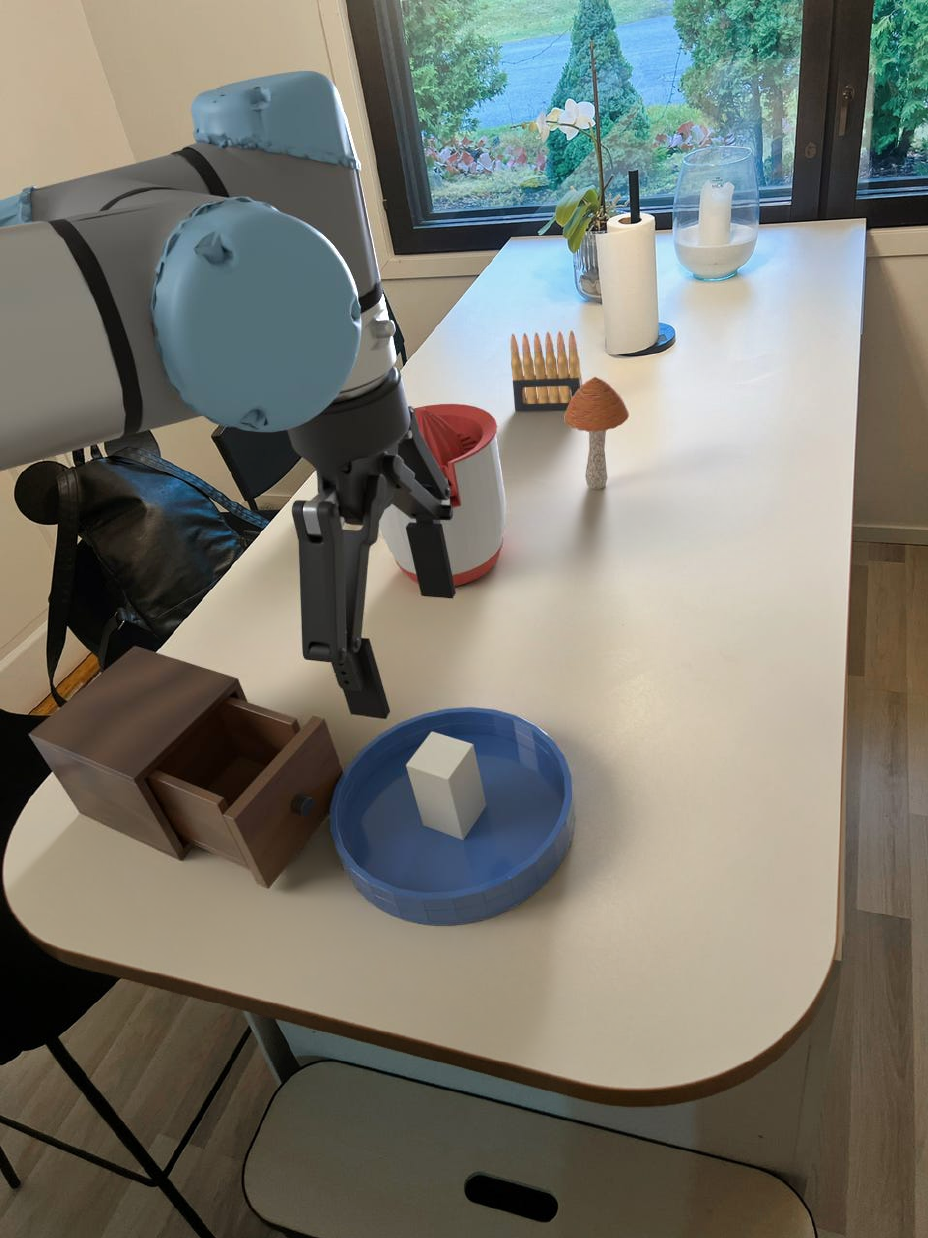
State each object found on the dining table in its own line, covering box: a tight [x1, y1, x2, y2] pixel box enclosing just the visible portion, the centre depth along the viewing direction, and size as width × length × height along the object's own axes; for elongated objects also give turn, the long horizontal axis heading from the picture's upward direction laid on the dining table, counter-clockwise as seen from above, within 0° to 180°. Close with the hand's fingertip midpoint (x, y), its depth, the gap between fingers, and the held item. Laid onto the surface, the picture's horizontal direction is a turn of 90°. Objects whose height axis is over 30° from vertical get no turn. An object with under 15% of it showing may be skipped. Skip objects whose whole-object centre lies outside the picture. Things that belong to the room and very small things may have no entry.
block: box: [406, 732, 486, 840], centre depth 72 cm, size 4×4×8 cm
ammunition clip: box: [510, 330, 583, 413], centre depth 131 cm, size 11×2×12 cm, turn 74°
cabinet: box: [28, 645, 249, 861], centre depth 79 cm, size 14×13×11 cm
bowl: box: [329, 706, 576, 927], centre depth 73 cm, size 20×20×4 cm
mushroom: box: [563, 376, 630, 491], centre depth 110 cm, size 8×8×15 cm
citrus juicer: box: [379, 403, 507, 587], centre depth 99 cm, size 16×17×20 cm
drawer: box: [144, 696, 344, 890], centre depth 74 cm, size 14×11×9 cm
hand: (407, 649), depth 65 cm, fingers open, 13 cm apart
